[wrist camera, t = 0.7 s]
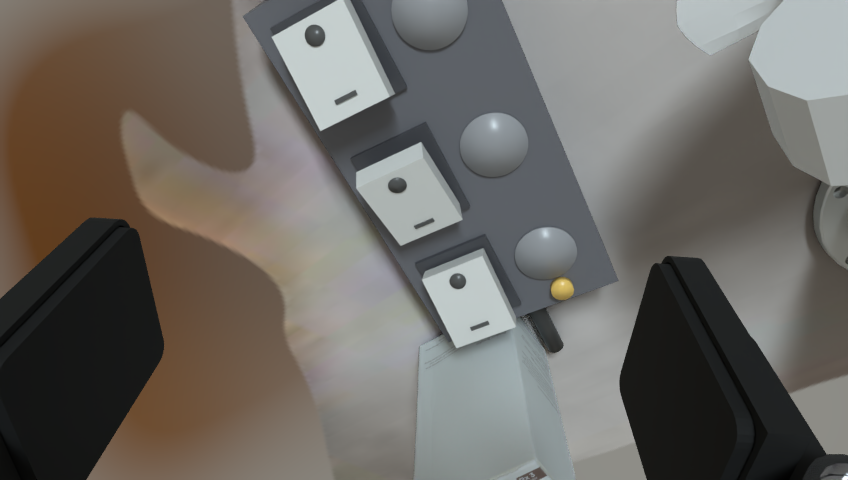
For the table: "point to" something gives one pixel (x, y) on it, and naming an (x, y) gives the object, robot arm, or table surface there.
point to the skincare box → (489, 411)
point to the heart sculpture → (788, 70)
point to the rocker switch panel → (465, 147)
